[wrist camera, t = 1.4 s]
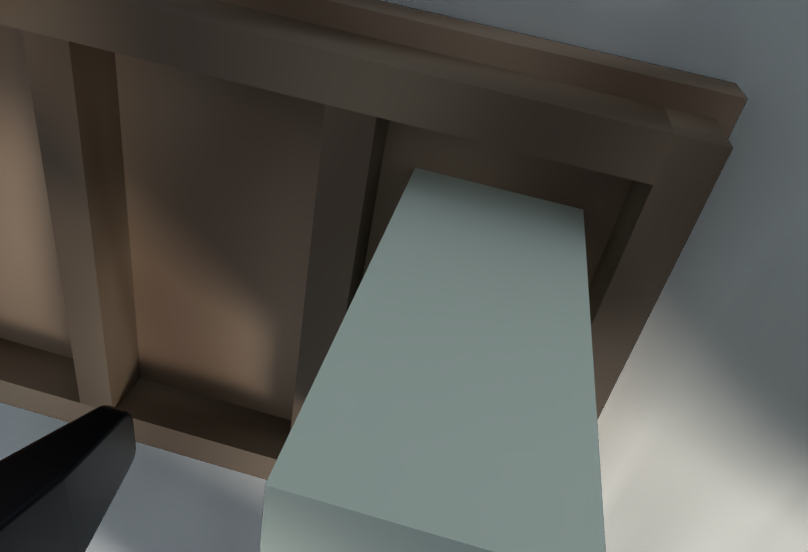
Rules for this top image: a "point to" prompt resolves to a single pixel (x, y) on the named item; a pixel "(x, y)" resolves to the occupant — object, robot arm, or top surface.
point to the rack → (297, 191)
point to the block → (452, 390)
